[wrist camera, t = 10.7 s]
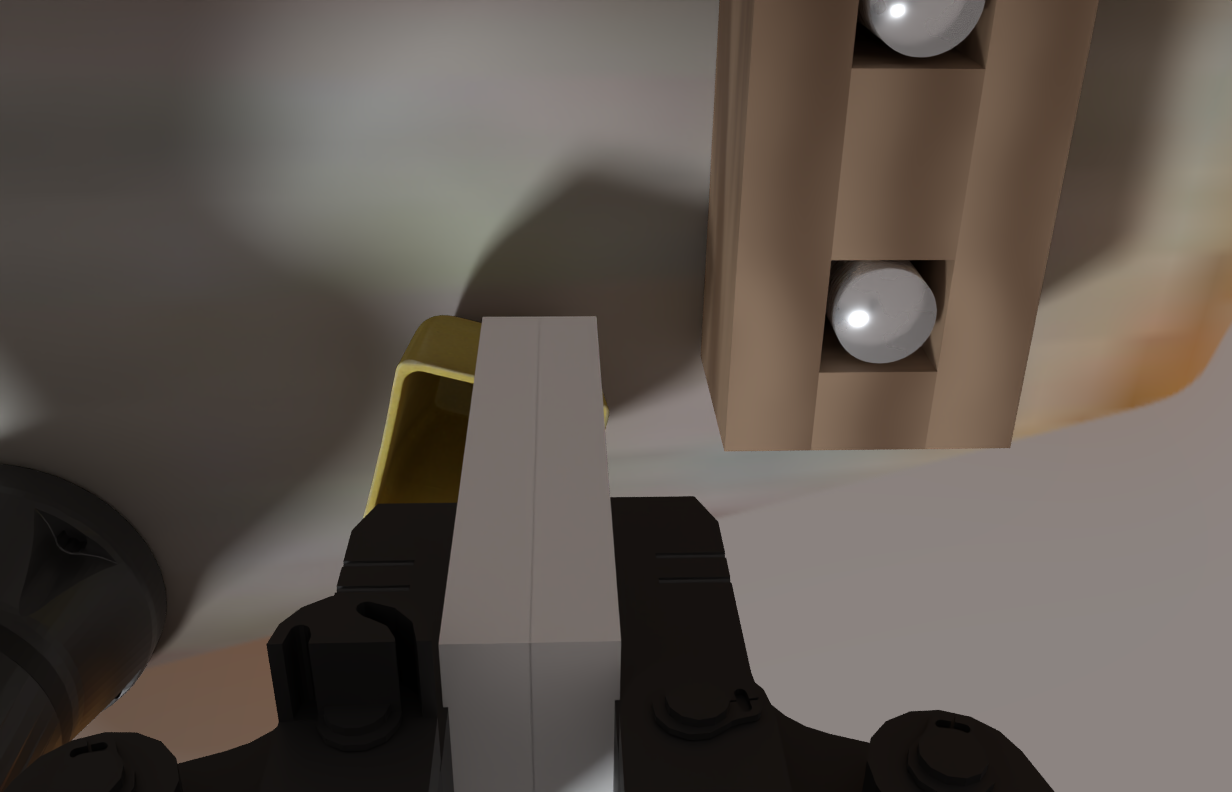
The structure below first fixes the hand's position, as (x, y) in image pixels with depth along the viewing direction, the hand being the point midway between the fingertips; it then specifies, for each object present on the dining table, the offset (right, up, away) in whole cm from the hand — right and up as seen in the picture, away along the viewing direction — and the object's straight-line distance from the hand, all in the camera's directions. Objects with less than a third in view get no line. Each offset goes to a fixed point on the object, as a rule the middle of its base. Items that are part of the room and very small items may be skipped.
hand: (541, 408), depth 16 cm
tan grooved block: (+11, +13, +35) cm, 39 cm away
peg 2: (+11, +7, +38) cm, 40 cm away
